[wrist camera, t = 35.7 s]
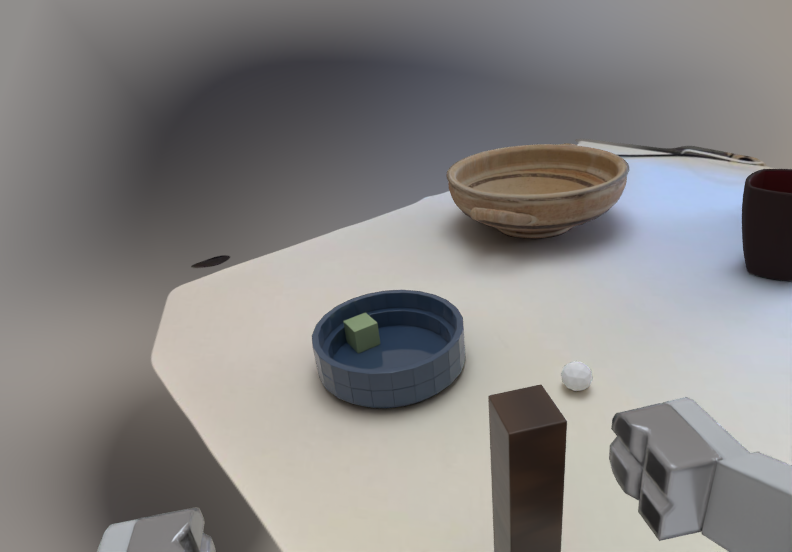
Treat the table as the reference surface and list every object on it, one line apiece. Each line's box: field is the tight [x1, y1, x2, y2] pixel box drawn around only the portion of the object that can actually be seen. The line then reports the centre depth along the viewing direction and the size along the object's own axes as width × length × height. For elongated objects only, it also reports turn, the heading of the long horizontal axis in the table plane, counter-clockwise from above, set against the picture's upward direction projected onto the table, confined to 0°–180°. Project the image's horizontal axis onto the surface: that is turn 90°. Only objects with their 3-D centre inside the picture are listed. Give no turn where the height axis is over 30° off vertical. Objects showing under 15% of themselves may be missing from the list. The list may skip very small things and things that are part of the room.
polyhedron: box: [561, 361, 593, 391], centre depth 53 cm, size 3×3×3 cm
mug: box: [742, 169, 792, 281], centre depth 69 cm, size 10×14×12 cm
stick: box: [489, 385, 567, 552], centre depth 33 cm, size 3×3×16 cm
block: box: [343, 313, 380, 353], centre depth 63 cm, size 3×3×3 cm
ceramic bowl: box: [447, 144, 629, 238], centre depth 90 cm, size 37×28×10 cm
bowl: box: [312, 290, 465, 408], centre depth 60 cm, size 16×16×5 cm
